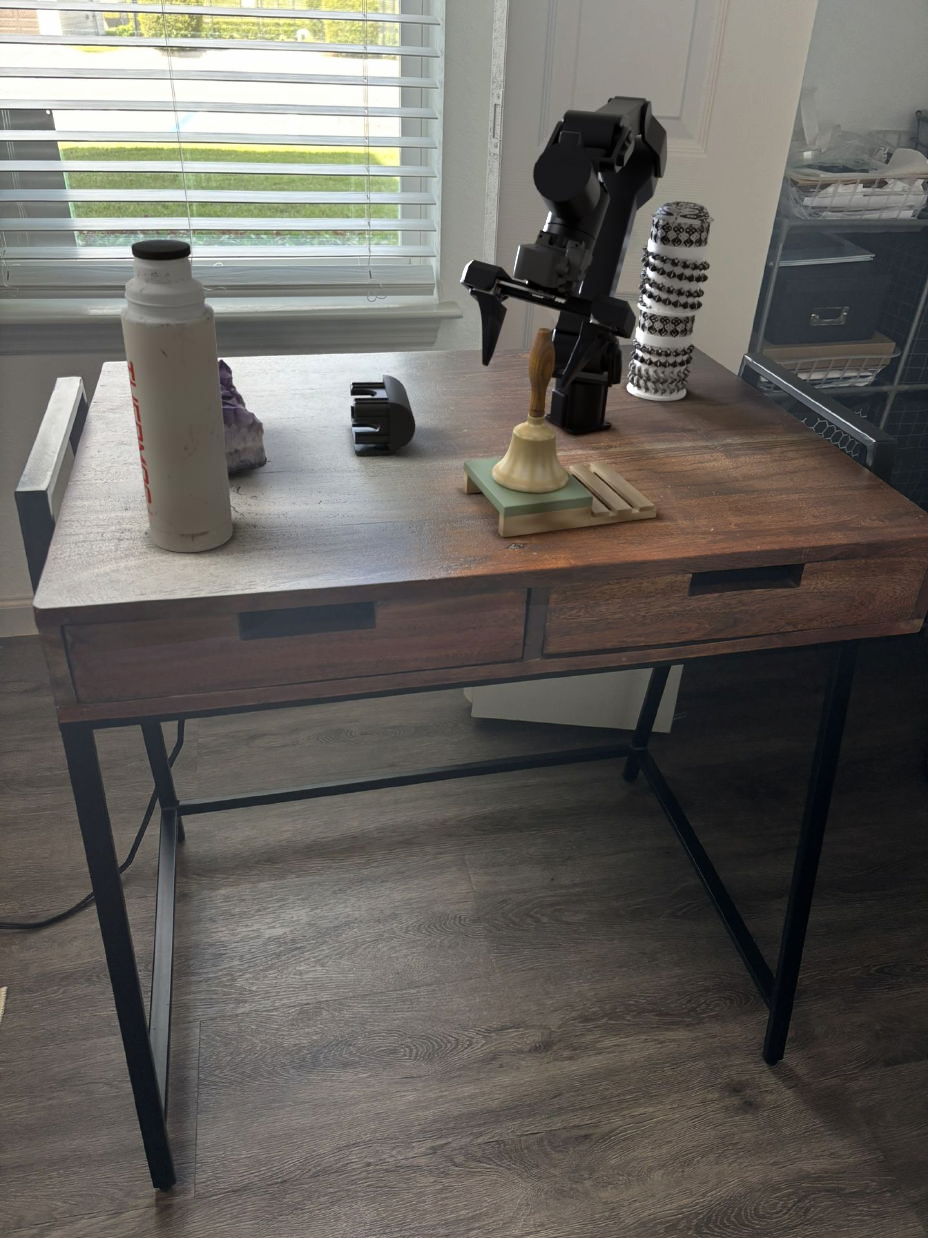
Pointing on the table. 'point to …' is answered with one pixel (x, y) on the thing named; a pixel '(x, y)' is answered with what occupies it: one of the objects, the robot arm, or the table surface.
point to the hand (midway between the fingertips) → (523, 376)
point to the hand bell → (534, 432)
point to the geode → (239, 427)
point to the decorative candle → (669, 301)
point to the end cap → (381, 417)
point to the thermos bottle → (176, 399)
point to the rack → (558, 499)
